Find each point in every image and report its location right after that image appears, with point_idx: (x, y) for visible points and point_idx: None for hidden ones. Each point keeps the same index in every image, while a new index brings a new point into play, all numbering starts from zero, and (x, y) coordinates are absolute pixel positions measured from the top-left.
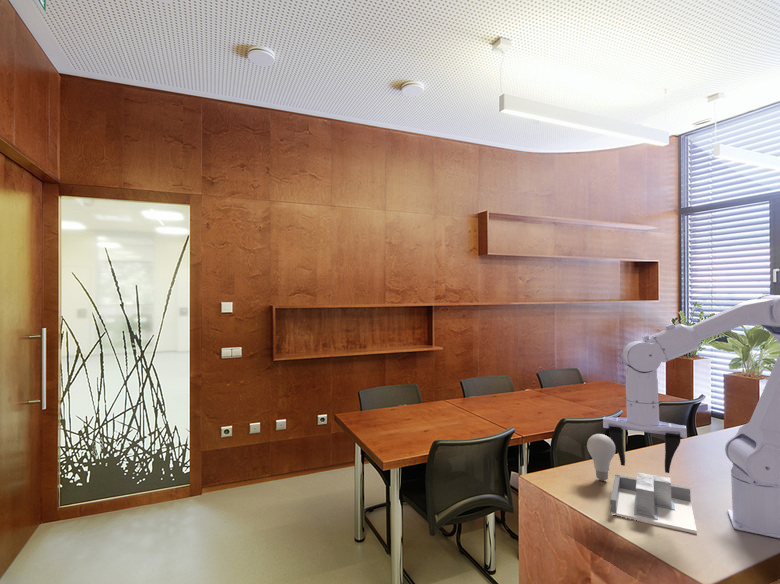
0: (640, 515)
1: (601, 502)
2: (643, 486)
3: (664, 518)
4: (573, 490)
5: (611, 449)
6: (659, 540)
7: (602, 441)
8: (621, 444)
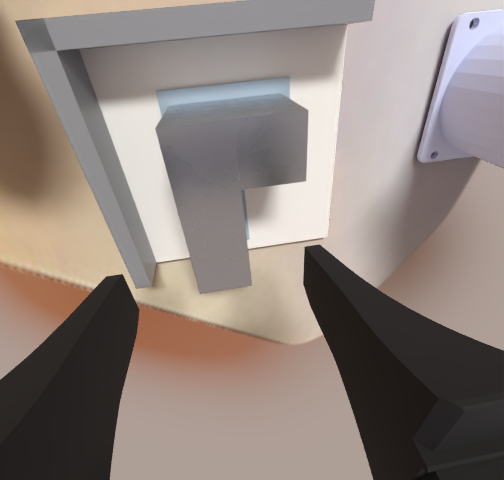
0: None
1: (87, 204)
2: (217, 269)
3: (263, 220)
4: None
5: None
6: (255, 294)
7: None
8: (106, 450)
